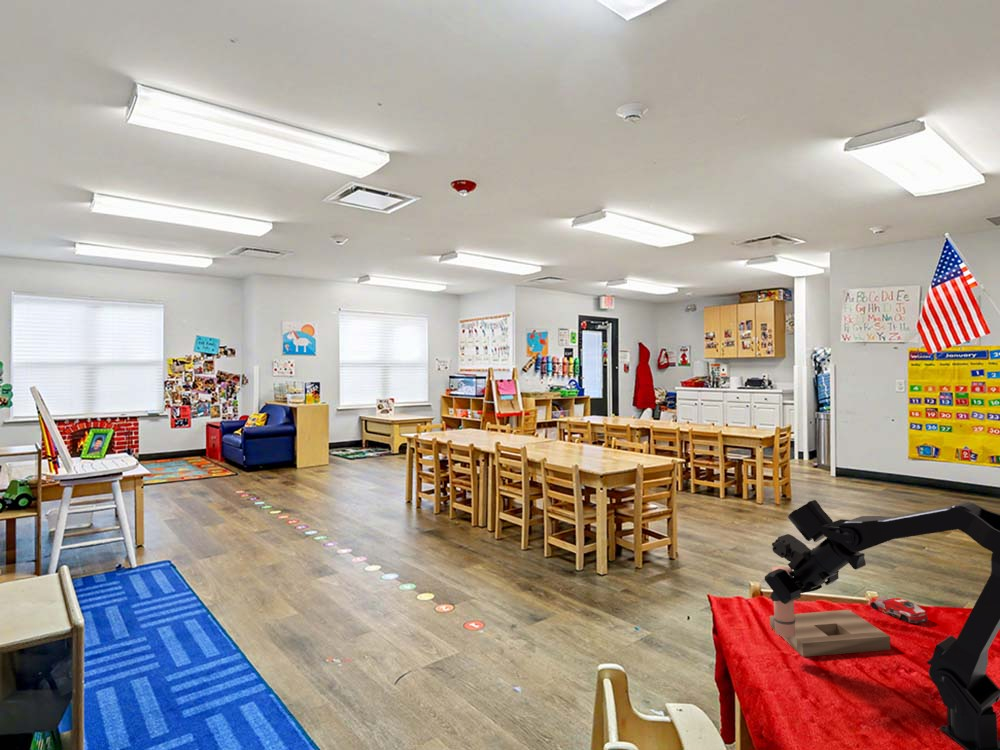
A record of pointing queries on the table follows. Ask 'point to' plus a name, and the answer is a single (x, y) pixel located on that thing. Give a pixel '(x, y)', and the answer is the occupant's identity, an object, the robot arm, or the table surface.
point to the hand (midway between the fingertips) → (777, 596)
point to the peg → (784, 614)
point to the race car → (899, 609)
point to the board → (834, 634)
